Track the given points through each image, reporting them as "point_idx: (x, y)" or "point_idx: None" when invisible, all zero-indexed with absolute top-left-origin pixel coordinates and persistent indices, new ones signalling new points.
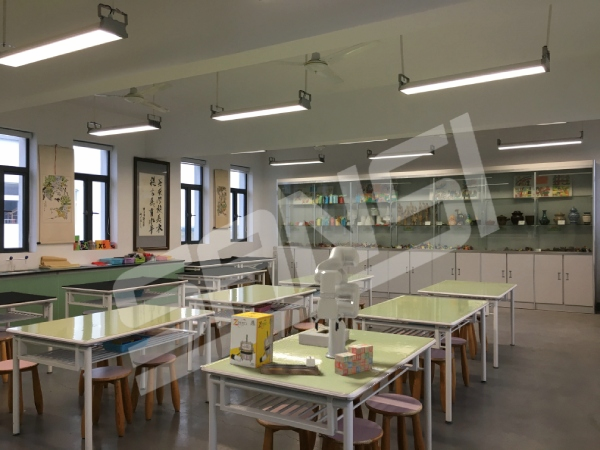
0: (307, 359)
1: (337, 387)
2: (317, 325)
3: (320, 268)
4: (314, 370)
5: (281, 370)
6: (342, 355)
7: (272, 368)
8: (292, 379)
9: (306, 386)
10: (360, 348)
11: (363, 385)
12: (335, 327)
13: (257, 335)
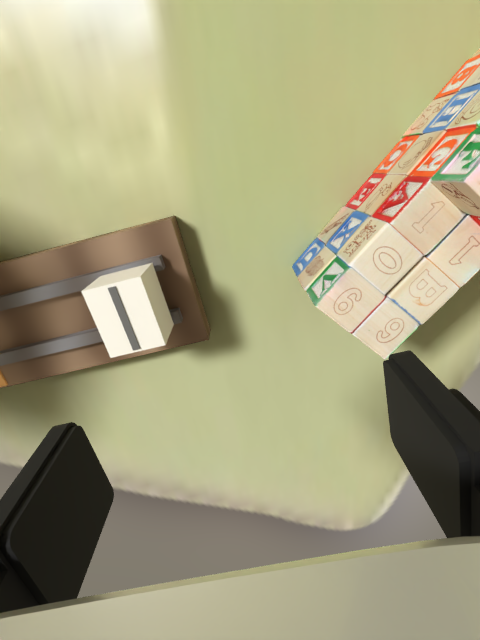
0: (116, 354)
1: (321, 479)
2: (76, 577)
3: None
4: (182, 345)
5: (8, 385)
6: (375, 320)
7: None
8: (107, 435)
9: (195, 499)
10: None
11: None
12: (406, 414)
13: None
